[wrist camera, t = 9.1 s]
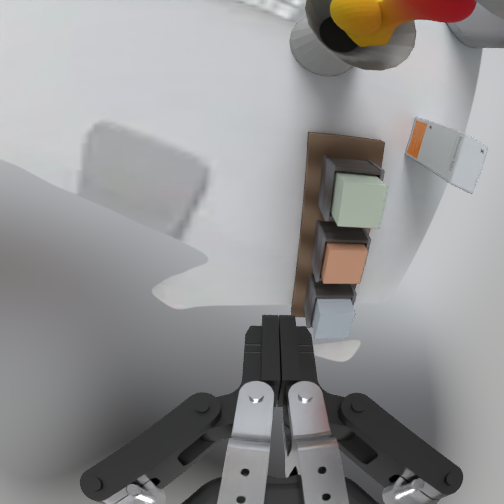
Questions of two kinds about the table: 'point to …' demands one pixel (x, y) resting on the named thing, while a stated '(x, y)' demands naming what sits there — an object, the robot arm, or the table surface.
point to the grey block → (332, 317)
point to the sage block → (357, 199)
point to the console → (328, 213)
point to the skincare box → (447, 153)
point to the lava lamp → (370, 31)
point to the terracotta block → (343, 263)
